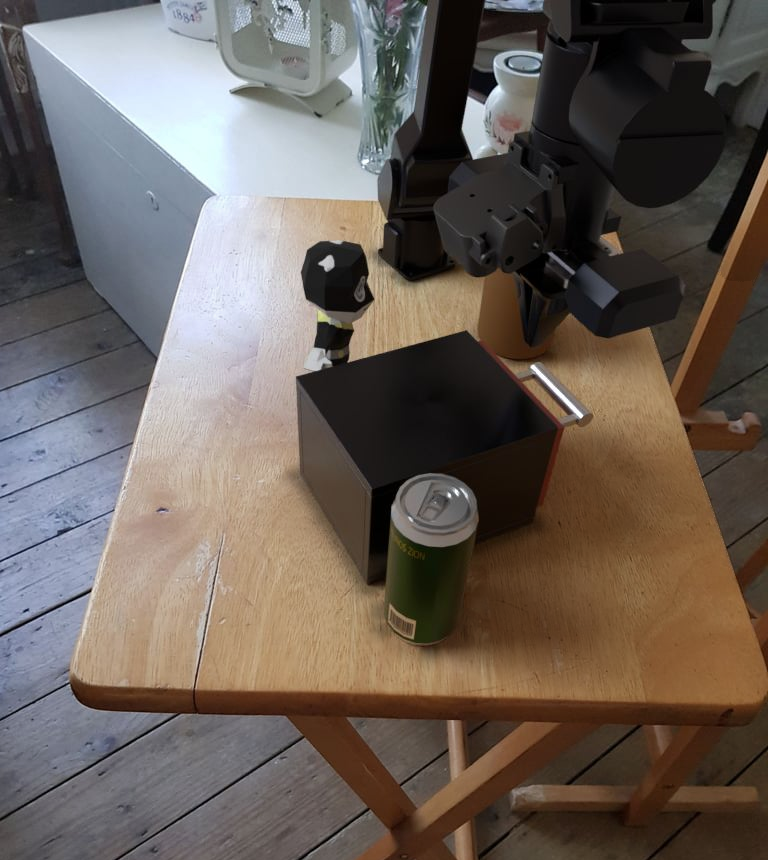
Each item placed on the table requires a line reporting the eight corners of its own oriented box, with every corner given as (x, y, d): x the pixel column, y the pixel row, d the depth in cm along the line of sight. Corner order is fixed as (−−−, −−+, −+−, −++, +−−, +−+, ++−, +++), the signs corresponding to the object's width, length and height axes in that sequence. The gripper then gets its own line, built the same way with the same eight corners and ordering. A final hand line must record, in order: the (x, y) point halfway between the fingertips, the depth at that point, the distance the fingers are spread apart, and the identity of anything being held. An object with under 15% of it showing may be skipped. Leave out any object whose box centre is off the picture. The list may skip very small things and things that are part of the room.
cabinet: (453, 425, 72) (466, 329, 64) (532, 522, 64) (558, 427, 57) (299, 474, 67) (295, 376, 59) (367, 585, 60) (371, 489, 52)
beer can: (438, 662, 55) (458, 549, 47) (369, 628, 57) (375, 513, 48) (470, 606, 59) (495, 490, 50) (404, 576, 60) (416, 459, 51)
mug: (479, 289, 87) (491, 205, 80) (550, 297, 86) (569, 213, 79) (474, 357, 79) (488, 270, 72) (553, 366, 78) (574, 279, 71)
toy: (353, 453, 69) (357, 300, 58) (284, 441, 69) (274, 287, 58) (385, 359, 78) (393, 211, 67) (323, 349, 78) (321, 200, 67)
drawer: (516, 403, 73) (533, 325, 67) (593, 487, 66) (619, 408, 60) (328, 462, 67) (327, 382, 61) (392, 561, 60) (398, 482, 54)
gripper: (386, 85, 51) (377, 302, 62) (559, 224, 40) (509, 456, 51) (534, 63, 54) (500, 271, 66) (730, 185, 43) (648, 409, 55)
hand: (532, 344), depth 59 cm, fingers closed
